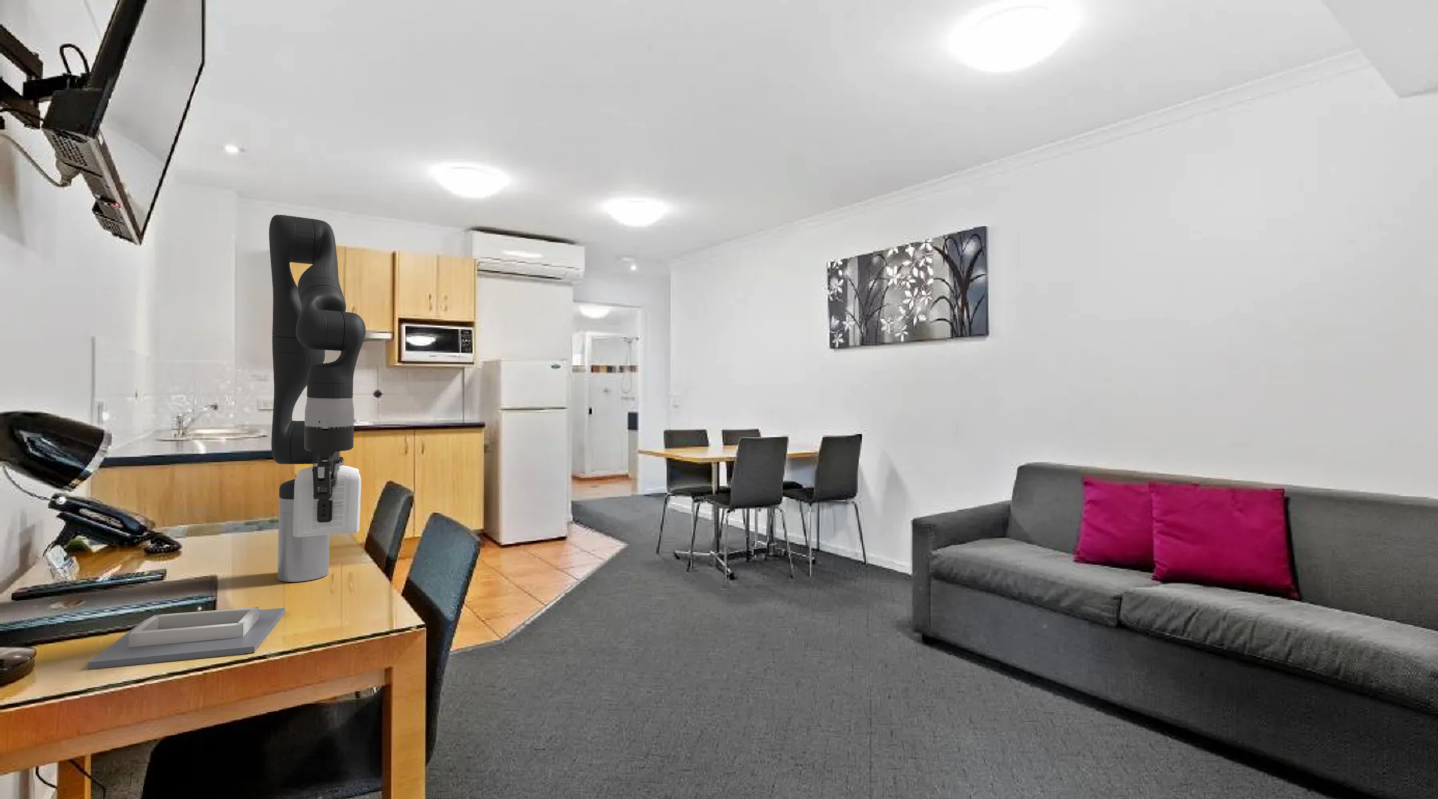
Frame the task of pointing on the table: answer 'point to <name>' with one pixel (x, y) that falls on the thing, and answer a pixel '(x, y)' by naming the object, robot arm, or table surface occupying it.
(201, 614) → the dock
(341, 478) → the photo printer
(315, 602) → the table surface
